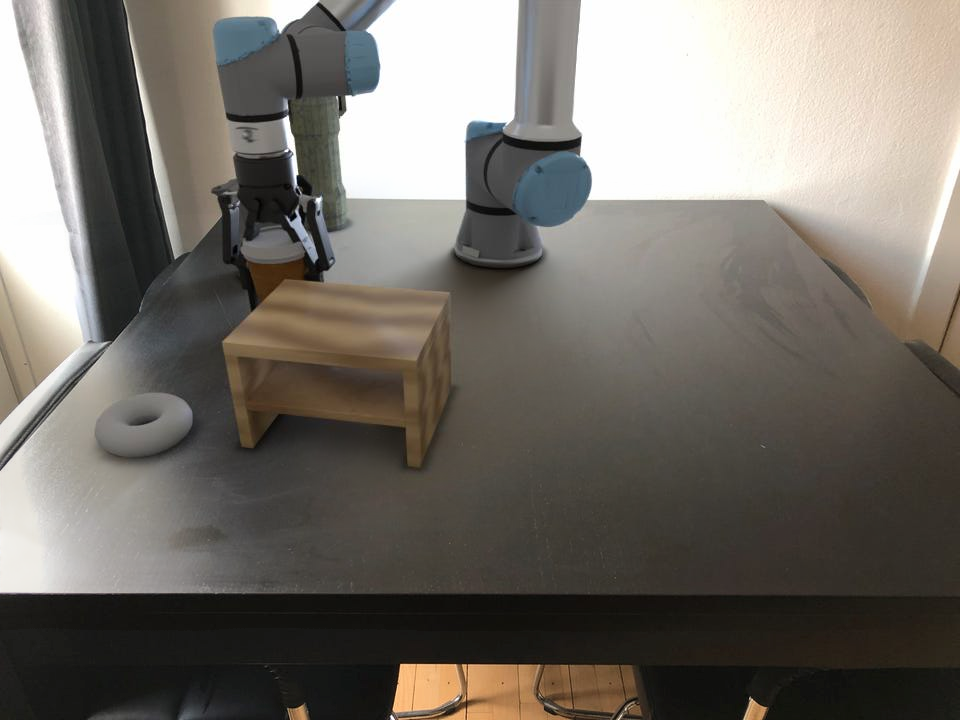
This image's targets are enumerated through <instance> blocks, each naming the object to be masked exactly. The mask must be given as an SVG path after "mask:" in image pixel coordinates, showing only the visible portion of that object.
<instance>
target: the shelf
mask: <svg viewBox="0 0 960 720" xmlns="http://www.w3.org/2000/svg"><path fill="white" fill-rule="evenodd" d="M451 334H452V333H451V292H447V291H434V290H423V289H421V290H420V289H409V288H397V287H386V286H385V287H384V286H372V285H361V284H348V283H336V282H326V281H324V282H313V281H301V280H289V279H285V280H284V281H283V282H282V283H281V284H280V285H279V286H278V287H277V288H276V289H275V290H274V291H273V292H272V293H271V294H270V295H269V296H268V297H267V298H266V299H265V300H264V301H263V302H262V303H261V304H260V305H259V306H258V307H257V308H256V309H255V310H254V311H253V312H252V313H251V312H250V313H249V315H247V316H246V318H245V319H243V321H241V323H240V324H239V325H237V326H236V327H235V328H234V329H233V330H232V332H231V333H229V335H228V336H227V337H225V338H224V340H222V342H221V344H222V350H223V355H224V359H225V365H226V366H225V367H226V371H227V376H228V382H229V387H230V392H231V398H232V404H233V409H234V414H235V419H236V425H237V431H238V436H239V441H240V446H241V448H248V449H254V448H255V446H256V445H257V444H258V443H259V441H260V440H261V439H262V437H263V436H264V434H265V433H266V432H267V430H268V429H269V428H270V426H271V425H272V424H273V422H274V421H275V420H276V418H277V416H278V415H279V414H280V415H290V416H298V417H307V418H315V419H316V418H317V419H324V420H325V419H326V420H333V421H334V420H335V421H344V422H354V423H362V424H372V425H381V426H390V427H397V428H398V427H399V428H405V443H406V463H407V467H409V468H416V469H417V468H419V469H420V468H421V467H422V465H423V462H424V459H425V456H426V454H427V451H428V449H429V446H430V444H431V441H432V438H433V436H434V434H435V431H436V428H437V425H438V423H439V421H440V418H441V416H442V413H443V411H444V408H445V406H446V403H447V401H448V397H449V395H450V392H451V389H452V350H451V349H452V348H451V347H452V346H451V345H452V344H451V343H452V342H451V340H452V339H451V336H452V335H451Z"/></svg>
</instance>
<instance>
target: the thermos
mask: <svg viewBox="0 0 960 720" xmlns="http://www.w3.org/2000/svg"><path fill="white" fill-rule="evenodd" d="M287 109H288V117H289V124H290V131H291V136H292V137H293V140H294V141H293V142H294V149H295V150H294V151H295V157H296V167H297V175H303V176H304V177H305V178H306V179H307V180H308V181H310V182H311V184H312V185H313V193H312V197H314V196H315V195H320V196H321V197H322V215H323V218H324V222H325V225H326V229H327V232H335V231H338V230H341V229H344V228H345V227H347V226H348V223H349V222H348V218H347V213H348V202H347V191H346V187H345V185H344V184H343V179H342V178H343V177H342V168H341V167H342V166H341V153H340V144H339V143H340V141H339V134H340V131H341V124H340V119H341V117H343V116H344V114H346V112H347V111H348V110H347V109H348V108H347V100H346V96H335V97H320V98H305V99H297V100H294V99H292V100H287ZM298 188H299V190H300V192H301V193H302V190H303V188H302V187H298ZM299 206H300V204H298V207H299ZM303 227H304V229H305V231H308V232H311V231H310V228H309V225H308V221H307V218H306V222H305V224H304V225H303Z"/></svg>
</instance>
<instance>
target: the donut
mask: <svg viewBox="0 0 960 720" xmlns="http://www.w3.org/2000/svg"><path fill="white" fill-rule="evenodd" d="M192 426H193V411H192V408H191V407H190V405H189V404H188V403H187V402H186V401H185V400H184V399H183V398H180V397H179V396H178V395H174V394H170V393H167V392H166V393H165V392H146V393H139V394H135V395H131V396H128V397H125V398H123V399H121V400H118V401H116V402H114V403H113V404H111V405H110V406H108V408H106V409H104V411H102V413H101V414H100V416H99V417H98V418H97V420H96V423H95V426H94V437H95V439H96V442H97V443H98V445H99V447H100V448H102V450H104V451H106V453H107V452H108V453H109V454H111V455H114V456H118V457H123V458H143V457H149V456H153V455H156V454H160V453H162V452H165V451H167V450H169V449H171V448H173V447H175V446H176V445H177V444H179V443H180V442H181V441H182V440H183V439H184V438H185V437H187V435H188V433H189V432H190V430H191V428H192Z"/></svg>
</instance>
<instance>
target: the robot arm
mask: <svg viewBox="0 0 960 720" xmlns="http://www.w3.org/2000/svg"><path fill="white" fill-rule="evenodd" d="M403 1H404V0H318V1H317V3H315V4H314V5H313V6H312V7H310V9H309V10H308V11H307V12H306V13H305V14H304V15H303V16H301V18H297V19H295V20H292V21H290V22H288V23H287V24H286V25H285V26H284V27H283V28H282V30H281V32H280V30H279V29H278V25H277V22H276V20H275V19H274V18H272V17H269V16H247V15H246V16H232V17H231V16H230V17H224V18H221V19H218V20H216V22H215V23H214V25H213V27H212V37H213V45H214V46H213V47H214V53H215V64H216V69H217V74H218V80H219V86H220V90H221V96H222V101H223V106H224V112H225V118H226V124H227V129H228V136H229V141H230V147H231V150H232V151H233V152H234V155H233V156H232V161H233V167H234V173H235V179H237V182H238V184H239V188H238V191H236V192H233V191H231V190H227V191H226V192H224V193H223V194H221V195H220V196H217V198H216V199H217V202H218V206H219V208H220V211H221V231H222V232H221V235H222V238H221V239H222V262H223V263H224V264H225V265H228V266H229V265H231V266H234V267H236V268H237V271H238V270H239V275H240V277H239V280H240V286H241V288H242V289H243V290H247V296H248V301H249V305H250V306H249V307H250V311H251V312H250V314H251V313H252V312H253V311H254V310H255V309H256V308H257V307H258V306H259V305H260V302H259V299H258V296H257V292H256V289H255V286H254V283H253V279H252V276H251V273H250V270H249V267H248V264H247V260H246V258H245V257H244V255H243V254H242V253H241V249H240V251H239V239H240V229H239V209H238V206H239V205H240V202H241V203H242V204H243V206H244V207H245V208H246V209H247V210H248V216H247V219H246V223H245V225H246V228H245V232H244V236H243V238H246V241H252V240H253V239H254V238H256V237H257V236H258V235H259V233H260V229H261V225H262V223H267V222H272V223H275V224H280V225H281V226H282V228H283V230H284V231H286V232H287V233H288V235H289V237H290V238H291V240H292V242H293V244H294V243H296V242H301V243H302V246H303V249H304V251H306V252H305V253H304V257H303V262H304V263H305V265H306V267H307V269H308V271H307V273H306V274H305V275H304V278H305V281H313V282H325V277H324V276H325V275H324V272H328V271H329V270H330V269H331V268H332V267H333V266H334V265H335V263H336V257H335V254H334V251H333V246H332V244H331V240H330V236H329V233H328V232H327V229H326V225H325V222H324V218H323V215H322V197H321V196H320V195H315V196H314V197H312V196H308V195H304V194H301V192H300V190H299V188H298V186H297V182H296V175H297V171H296V162H295V154H294V152H293V151H292V150H291V147H293V138H292V137H293V136H292V133H291V130H290V122H289V117H288V104H287V100H292V99H294V100H297V99H305V98H320V97H335V96H336V97H338V96H345V97H347V96H351V97H355V96H360V95H364V94H365V95H366V94H371V93H374V92H376V91H377V90H378V88H379V87H380V83H381V79H382V78H381V77H382V64H381V63H382V61H381V54H380V49H379V45H378V43H377V40H376V38H375V37H374V35H373V34H372V32H373V31H375V29H376V28H377V27H378V26H379V25H380V24H381V23H383V21H384V20H386V18H388V16H389V15H390V14H391V13H392V12H393V11H394V10H395V9H397V7H398V6H400V4H401V3H402V2H403ZM517 8H518V9H517V30H516V31H517V32H516V33H517V34H516V54H515V55H516V57H515V79H514V101H513V103H514V104H513V116H495V117H493V116H492V117H485V118H484V117H483V118H477V119H473V120H471V121H470V122H469V123H468V124H467V125H466V129H465V140H464V146H465V147H464V148H465V150H464V151H465V153H464V154H465V210H464V213H463V215H462V216H463V217H462V220H461V223H460V226H459V228H458V232H457V234H456V238H455V244H454V247H455V248H454V249H455V251H454V252H455V255H456V257H458V258H459V259H460V260H462V261H463V262H465V263H468V264H471V265H473V266H477V267H478V266H479V267H481V268H489V269H490V268H491V269H510V268H511V269H512V268H517V267H518V268H519V267H523V266H527V265H530V264H532V263H534V262H536V261H537V260H539V259H540V258H541V256H542V253H543V241H542V237H541V234H540V229H539V227H542V228H552V227H557V226H560V225H563V224H566V223H567V222H569V221H570V220H572V219H573V218H574V216H575V215H576V214H578V212H581V210H582V209H583V208H584V206H585V205H586V203H587V201H588V200H589V197H590V194H591V191H592V187H593V186H592V185H593V175H592V171H591V168H590V167H589V165H588V164H587V161H586V160H585V159H584V157H582V156H581V152H582V141H583V140H582V138H583V131H582V129H581V128H580V126H579V125H578V124H577V123H576V122H575V121H574V110H575V109H574V108H575V97H576V86H577V85H576V84H577V73H578V59H579V49H580V48H579V47H580V36H581V35H580V34H581V26H582V25H581V23H582V13H583V11H582V10H583V0H518V7H517ZM299 204H301V205H302V207H303V211H304V212H305V213H307V221H308V225H309V228H310V231H309V232H310V235H311V238H312V239H311V238H310V236H309V233H308V232H307V230H306V229H304V227H303V225H302V223H301V218H300V216H299V211H298V210H297V209H298V207H299ZM306 232H307V233H308V234H307V233H306ZM306 237H308V241H307V243H305V242H303V240H304V239H305V238H306ZM310 239H311V240H312V242H311V240H310ZM242 243H243V239H242ZM242 243H241V247H242ZM241 247H240V248H241ZM310 247H311V248H310ZM309 248H310V249H309Z"/></svg>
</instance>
